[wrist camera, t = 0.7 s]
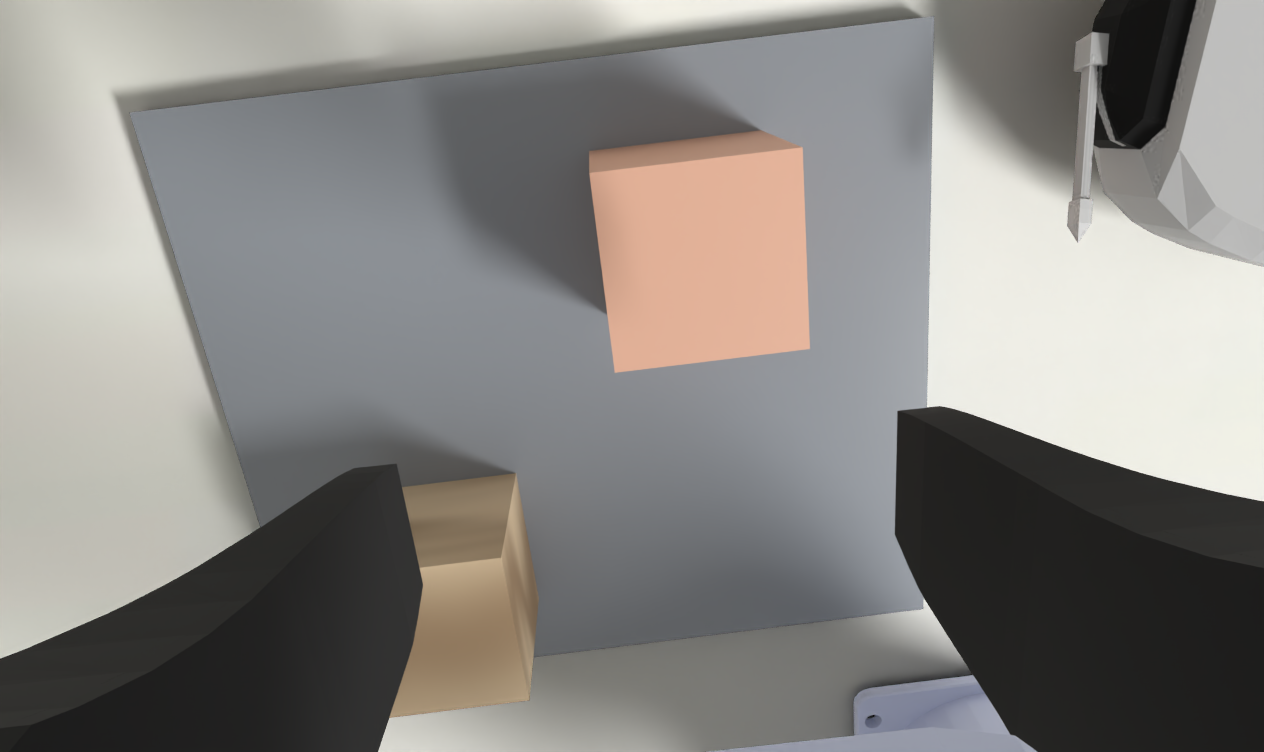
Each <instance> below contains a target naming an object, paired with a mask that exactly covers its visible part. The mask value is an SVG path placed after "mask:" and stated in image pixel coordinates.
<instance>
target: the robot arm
mask: <svg viewBox="0 0 1264 752" xmlns="http://www.w3.org/2000/svg"><path fill="white" fill-rule="evenodd" d="M895 536H896V539H897V541H898V543H899V546H900V548H901V550H902V553H903V555H904V557H905V560H906V562H907V565H908V567H909V569H910V571H911V573H912V575H913V578H914V580H915V582H916V584H917V586H918V588H919V590H920V592H921V594H922V595H923V597H924V599H925V600H926V602H927V603H928V605H929V607H930V608H931V610H932V611H933V613H934V615H935V616H936V618H937V619H938V621H939V623H940V624H941V626H942V627H943V629H944V630H945V632H946V634H947V635H948V637H949V638H950V640H951V641H952V643H953V645H954V646H955V648H956V649H957V651H958V652H959V654H960V655H961V657H962V658H963V660H964V662H965V663H966V665H967V666H968V668H969V669H970V671H971V672H972V674H973V675H970V676H962V677H954V678H946V679H938V680H930V681H922V682H914V683H905V684H897V685H889V686H881V687H873V688H868V689H864V690H862V691H861V692H859V693H858V694H857V695H856V697H855V698H854V736H845V737H836V738H826V739H817V740H808V741H799V742H790V743H781V744H772V745H762V746H753V747H744V748H735V749H726V750H717V751H708V752H1264V502H1263V501H1257V500H1252V499H1247V498H1242V497H1237V496H1232V495H1227V494H1223V493H1218V492H1214V491H1210V490H1206V489H1202V488H1198V487H1193V486H1189V485H1185V484H1181V483H1177V482H1173V481H1168V480H1164V479H1161V478H1157V477H1153V476H1150V475H1146V474H1143V473H1139V472H1136V471H1132V470H1129V469H1126V468H1123V467H1120V466H1116V465H1113V464H1110V463H1107V462H1104V461H1101V460H1097V459H1094V458H1091V457H1088V456H1085V455H1082V454H1079V453H1076V452H1073V451H1070V450H1068V449H1065V448H1062V447H1059V446H1056V445H1054V444H1051V443H1048V442H1045V441H1042V440H1040V439H1037V438H1034V437H1032V436H1029V435H1026V434H1023V433H1021V432H1018V431H1015V430H1013V429H1010V428H1007V427H1005V426H1002V425H999V424H996V423H994V422H991V421H988V420H986V419H983V418H980V417H977V416H974V415H971V414H968V413H965V412H962V411H958V410H955V409H951V408H946V407H941V406H938V407H928V408H919V409H909V410H900V411H897V454H896V499H895ZM422 589H423V581H422V577H421V572H420V568H419V563H418V559H417V554H416V549H415V545H414V540H413V536H412V531H411V526H410V522H409V517H408V513H407V508H406V504H405V499H404V494H403V490H402V485H401V481H400V476H399V472H398V467H397V464H388V465H378V466H369V467H359V468H353V469H351V470H349V471H347V472H345V473H343V474H341V475H339V476H338V477H336V478H334V479H333V480H331V481H329V482H328V483H326V484H325V485H323V486H322V487H320V488H319V489H317V490H315V491H314V492H312V493H311V494H310V495H308V496H307V497H305V498H304V499H302V500H301V501H299V502H298V503H296V504H295V505H293V506H292V507H290V508H289V509H287V510H286V511H284V512H283V513H281V514H280V515H278V516H277V517H275V518H274V519H272V520H271V521H269V522H268V523H266V524H265V525H263V526H262V527H260V528H259V529H257V530H256V531H254V532H253V533H251V534H250V535H248V536H246V537H245V538H243V539H241V540H240V541H238V542H237V543H235V544H233V545H232V546H230V547H229V548H227V549H225V550H224V551H222V552H221V553H219V554H217V555H216V556H214V557H212V558H211V559H209V560H208V561H206V562H204V563H203V564H201V565H200V566H198V567H196V568H194V569H193V570H191V571H189V572H187V573H186V574H184V575H182V576H180V577H179V578H177V579H175V580H173V581H171V582H169V583H168V584H166V585H164V586H162V587H160V588H158V589H156V590H154V591H152V592H150V593H148V594H146V595H144V596H143V597H141V598H139V599H137V600H135V601H133V602H131V603H129V604H127V605H125V606H123V607H121V608H119V609H117V610H114V611H112V612H110V613H108V614H106V615H104V616H101V617H99V618H97V619H94V620H92V621H90V622H87V623H85V624H83V625H80V626H78V627H76V628H74V629H71V630H69V631H67V632H64V633H62V634H60V635H57V636H55V637H53V638H50V639H48V640H46V641H43V642H41V643H39V644H37V645H34V646H32V647H30V648H27V649H25V650H22V651H19V652H17V653H14V654H12V655H9V656H6V657H4V658H1V659H0V752H378V750H379V747H380V744H381V741H382V738H383V735H384V732H385V729H386V726H387V723H388V720H389V717H390V714H391V711H392V708H393V705H394V702H395V699H396V696H397V693H398V690H399V687H400V684H401V681H402V678H403V675H404V671H405V668H406V665H407V662H408V659H409V656H410V653H411V649H412V646H413V642H414V637H415V631H416V626H417V621H418V615H419V608H420V602H421V596H422ZM871 715H875V716H874V717H873V718H870V719H866V718H867V717H868V716H871Z"/></svg>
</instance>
